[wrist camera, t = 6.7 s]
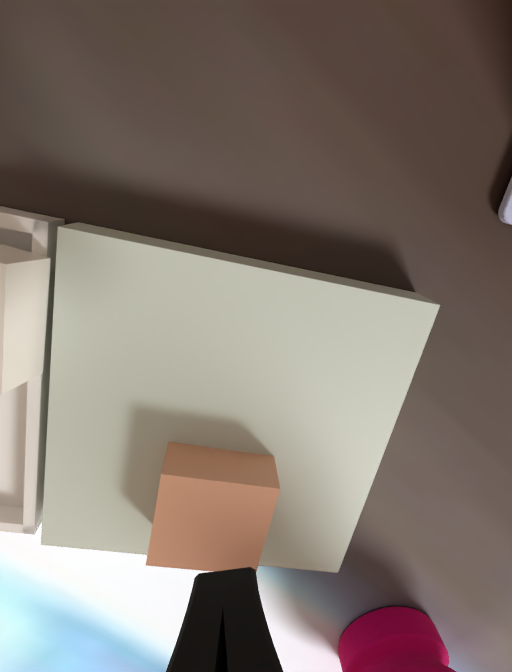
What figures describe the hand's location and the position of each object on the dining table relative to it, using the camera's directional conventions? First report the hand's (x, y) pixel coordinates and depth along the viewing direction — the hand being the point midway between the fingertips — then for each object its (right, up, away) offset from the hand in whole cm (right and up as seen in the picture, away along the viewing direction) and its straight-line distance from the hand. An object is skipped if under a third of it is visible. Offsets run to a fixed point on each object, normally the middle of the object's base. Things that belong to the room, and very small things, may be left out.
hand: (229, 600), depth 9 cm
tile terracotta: (-1, -1, +8) cm, 8 cm away
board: (-1, +3, +9) cm, 9 cm away
